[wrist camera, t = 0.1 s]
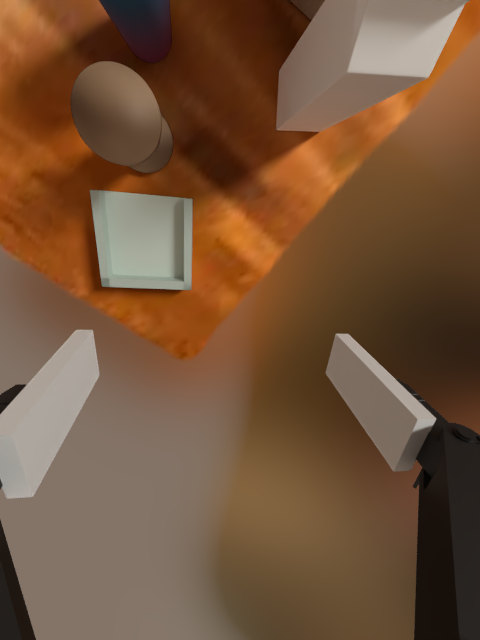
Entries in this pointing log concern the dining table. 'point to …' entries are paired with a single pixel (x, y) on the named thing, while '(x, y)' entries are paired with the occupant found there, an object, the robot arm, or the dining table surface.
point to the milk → (360, 58)
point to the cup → (143, 26)
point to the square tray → (143, 240)
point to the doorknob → (120, 117)
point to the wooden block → (308, 6)
